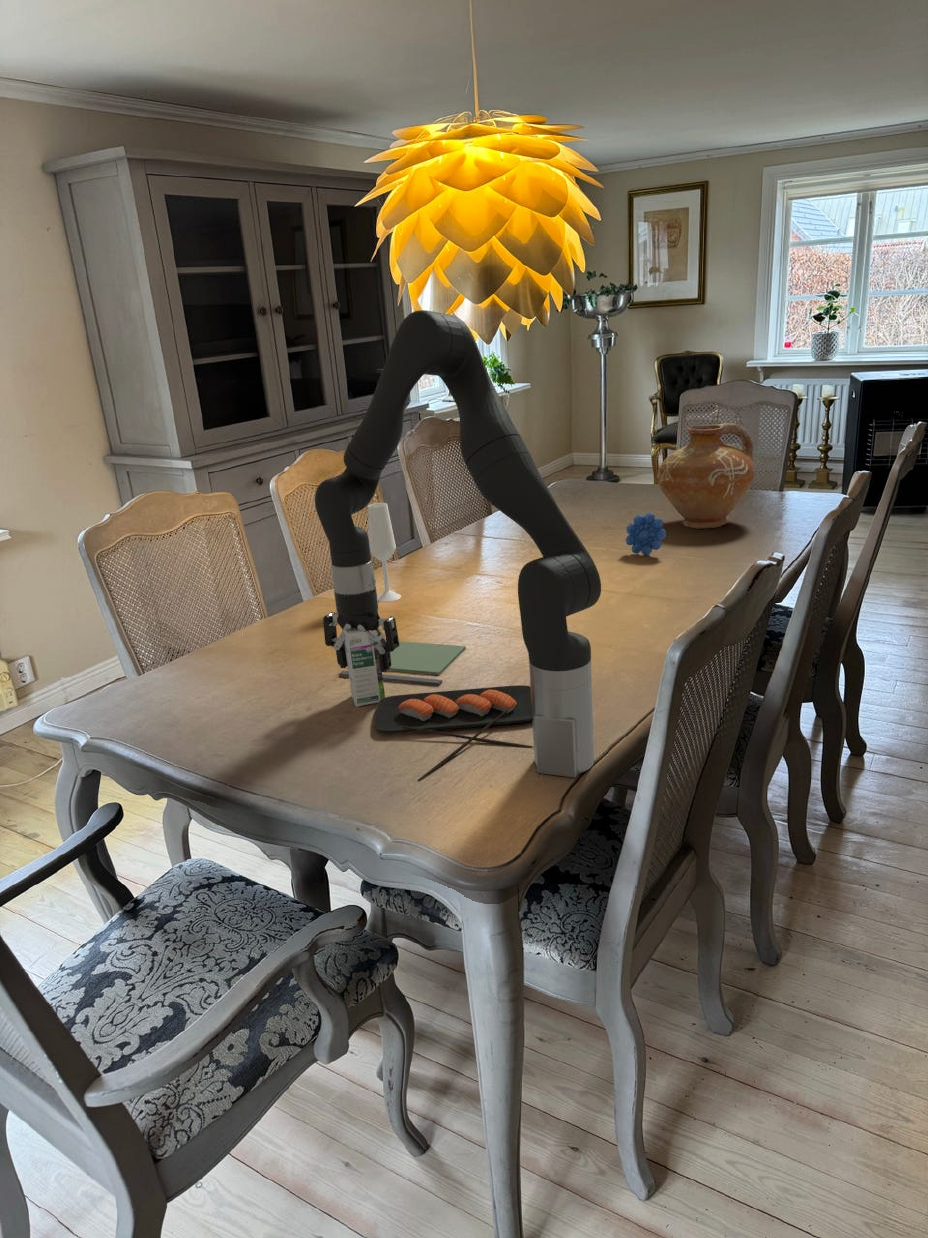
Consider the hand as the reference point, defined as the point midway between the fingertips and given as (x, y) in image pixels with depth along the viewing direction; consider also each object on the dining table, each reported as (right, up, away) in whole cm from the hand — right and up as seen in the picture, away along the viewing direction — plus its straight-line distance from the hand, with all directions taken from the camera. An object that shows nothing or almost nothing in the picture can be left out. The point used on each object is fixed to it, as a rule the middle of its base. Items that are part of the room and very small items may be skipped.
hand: (365, 668), depth 160 cm
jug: (+92, +38, +104) cm, 144 cm away
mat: (+8, +1, +19) cm, 21 cm away
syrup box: (0, -6, +2) cm, 6 cm away
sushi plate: (+18, -11, -14) cm, 25 cm away
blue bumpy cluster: (+69, +27, +78) cm, 107 cm away
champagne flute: (-1, +15, +59) cm, 61 cm away
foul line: (+4, -3, +10) cm, 11 cm away
